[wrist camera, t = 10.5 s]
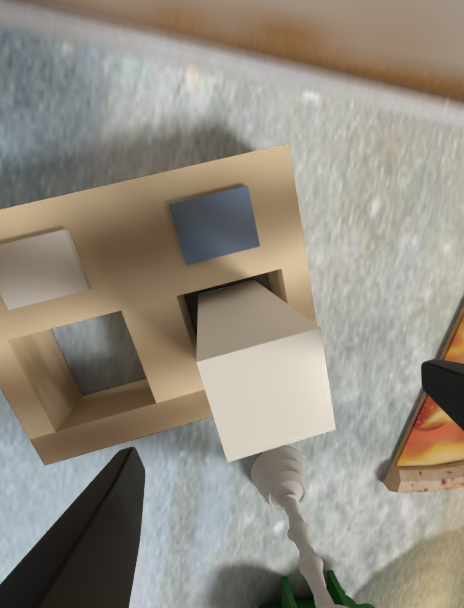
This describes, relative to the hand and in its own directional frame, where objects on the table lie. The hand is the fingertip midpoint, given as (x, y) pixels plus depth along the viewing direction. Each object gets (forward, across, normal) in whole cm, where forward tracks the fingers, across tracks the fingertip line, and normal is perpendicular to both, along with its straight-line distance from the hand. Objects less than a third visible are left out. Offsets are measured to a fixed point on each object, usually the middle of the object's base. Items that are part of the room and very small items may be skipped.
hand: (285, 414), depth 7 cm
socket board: (+11, +5, -2) cm, 12 cm away
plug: (+11, 0, 0) cm, 11 cm away
